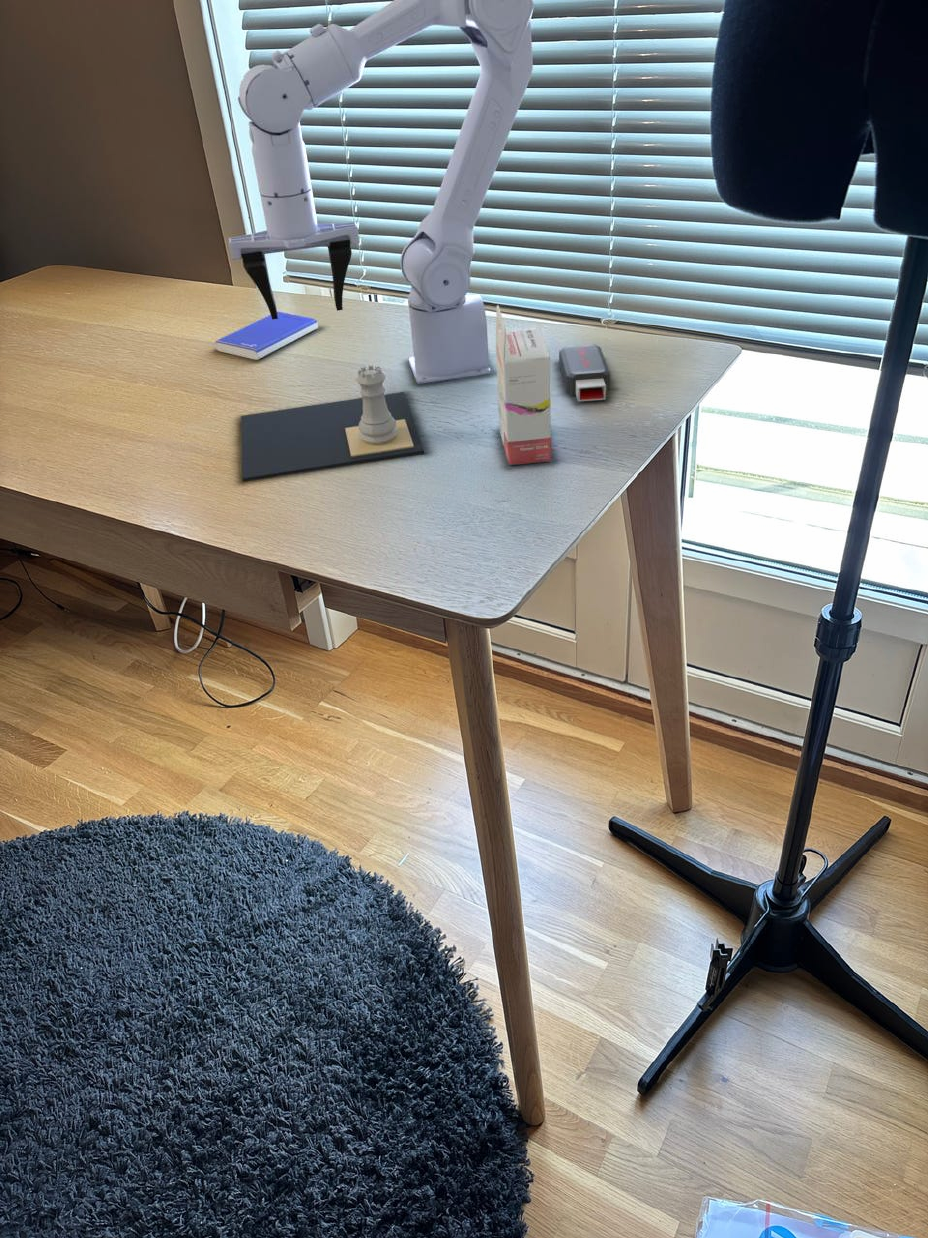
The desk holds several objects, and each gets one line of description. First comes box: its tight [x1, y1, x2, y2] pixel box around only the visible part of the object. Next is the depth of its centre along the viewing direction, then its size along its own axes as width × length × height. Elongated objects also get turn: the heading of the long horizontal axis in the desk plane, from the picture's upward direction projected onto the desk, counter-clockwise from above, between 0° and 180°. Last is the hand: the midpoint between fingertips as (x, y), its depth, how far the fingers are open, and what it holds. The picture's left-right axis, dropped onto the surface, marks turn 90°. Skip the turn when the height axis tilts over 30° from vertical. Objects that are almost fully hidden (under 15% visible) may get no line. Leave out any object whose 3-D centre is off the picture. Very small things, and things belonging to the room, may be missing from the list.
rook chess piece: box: [355, 364, 398, 445], centre depth 106 cm, size 4×4×8 cm
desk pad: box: [240, 391, 425, 482], centre depth 111 cm, size 20×16×1 cm
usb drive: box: [558, 344, 611, 402], centre depth 117 cm, size 5×12×3 cm, turn 1°
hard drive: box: [214, 311, 319, 361], centre depth 136 cm, size 2×8×12 cm
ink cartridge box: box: [495, 304, 552, 466], centre depth 101 cm, size 9×5×15 cm, turn 5°
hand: (307, 311), depth 114 cm, fingers open, 7 cm apart
